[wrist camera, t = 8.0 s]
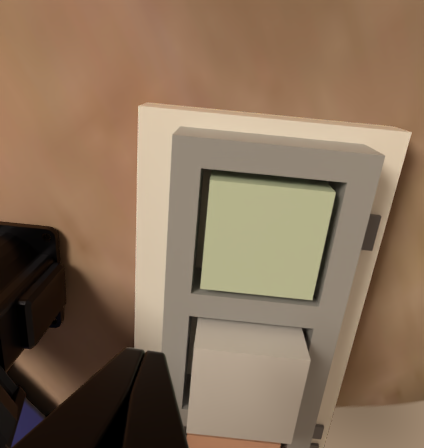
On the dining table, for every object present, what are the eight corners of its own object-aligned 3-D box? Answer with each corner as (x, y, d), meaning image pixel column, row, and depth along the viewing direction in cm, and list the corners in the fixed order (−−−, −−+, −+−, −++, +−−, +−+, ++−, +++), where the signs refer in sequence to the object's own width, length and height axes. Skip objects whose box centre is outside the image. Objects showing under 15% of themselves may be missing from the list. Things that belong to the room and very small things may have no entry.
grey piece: (138, 445, 27) (122, 513, 23) (147, 102, 19) (123, 111, 15) (305, 463, 27) (319, 534, 23) (393, 126, 19) (440, 142, 14)
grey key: (191, 392, 21) (186, 432, 18) (198, 313, 19) (193, 348, 16) (284, 402, 20) (291, 444, 18) (300, 324, 19) (310, 360, 16)
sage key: (203, 262, 19) (200, 288, 17) (212, 165, 17) (209, 180, 15) (302, 272, 19) (312, 300, 17) (322, 176, 17) (335, 192, 15)
